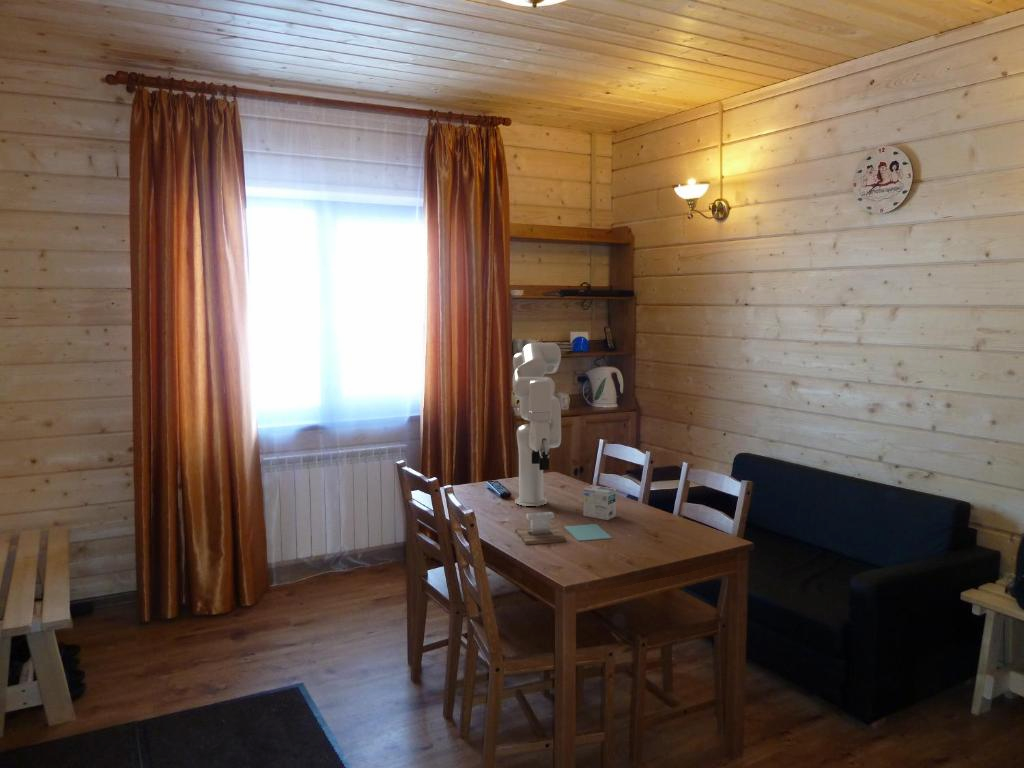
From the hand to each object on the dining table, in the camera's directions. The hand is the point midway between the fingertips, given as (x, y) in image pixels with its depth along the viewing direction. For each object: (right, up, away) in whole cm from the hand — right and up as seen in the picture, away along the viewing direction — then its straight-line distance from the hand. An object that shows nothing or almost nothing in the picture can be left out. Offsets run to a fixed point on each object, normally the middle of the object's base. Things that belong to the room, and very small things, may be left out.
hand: (540, 466), depth 257 cm
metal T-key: (0, -24, +3) cm, 24 cm away
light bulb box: (+23, -22, +27) cm, 41 cm away
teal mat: (+17, -24, +7) cm, 30 cm away
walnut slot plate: (0, -24, +3) cm, 24 cm away
